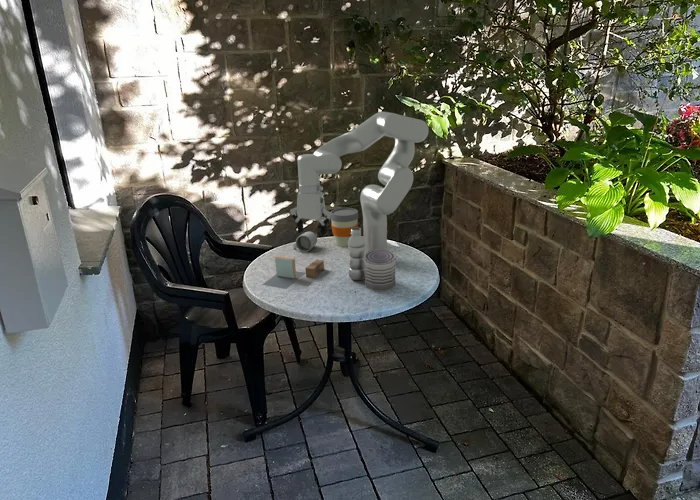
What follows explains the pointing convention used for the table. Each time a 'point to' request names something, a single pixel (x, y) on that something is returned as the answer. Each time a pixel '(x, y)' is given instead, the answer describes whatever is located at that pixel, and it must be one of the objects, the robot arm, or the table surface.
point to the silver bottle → (356, 255)
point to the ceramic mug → (305, 241)
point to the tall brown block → (311, 273)
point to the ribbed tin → (380, 270)
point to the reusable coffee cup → (343, 224)
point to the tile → (285, 267)
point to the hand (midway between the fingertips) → (312, 233)
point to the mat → (283, 280)
